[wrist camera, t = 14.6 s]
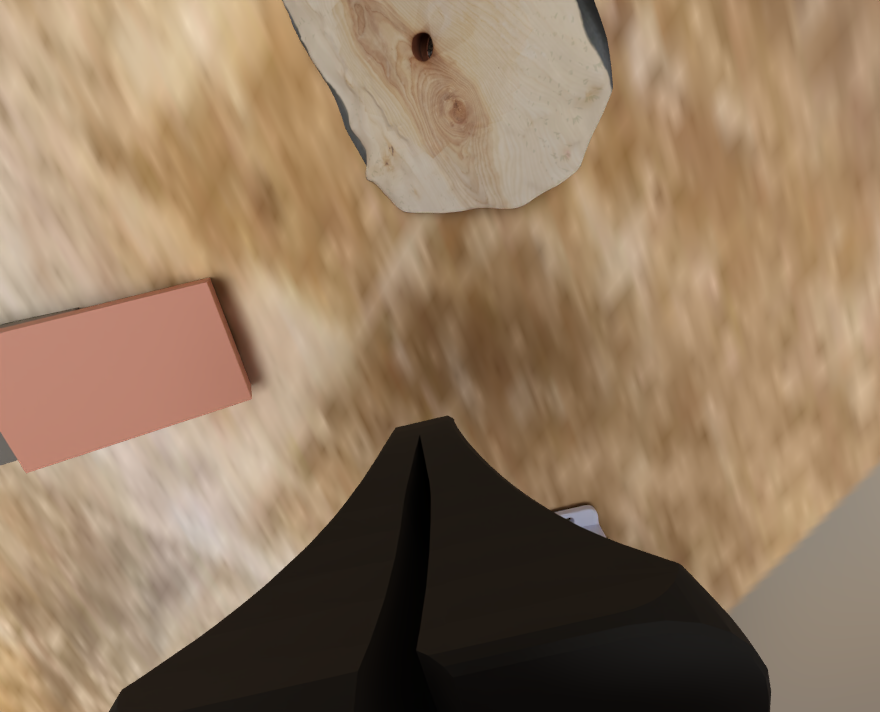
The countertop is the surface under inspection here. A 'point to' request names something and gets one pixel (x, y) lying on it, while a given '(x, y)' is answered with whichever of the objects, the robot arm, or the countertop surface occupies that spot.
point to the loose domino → (116, 372)
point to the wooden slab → (462, 93)
